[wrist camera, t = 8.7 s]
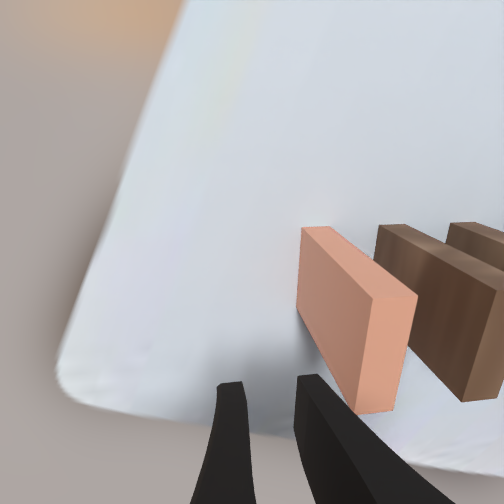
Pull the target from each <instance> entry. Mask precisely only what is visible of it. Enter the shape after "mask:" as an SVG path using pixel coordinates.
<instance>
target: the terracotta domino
mask: <svg viewBox="0 0 504 504" xmlns="http://www.w3.org/2000/svg"><path fill="white" fill-rule="evenodd" d="M417 299H418V295H417V294H415V293H414V292H413V291H412V290H410V289H409V288H408V287H406V286H405V285H404V284H403V283H401V282H400V281H399V280H398V279H396V278H395V277H394V276H392V275H391V274H390V273H389V272H387V271H386V270H385V269H383V268H382V267H381V266H380V265H378V264H377V263H376V262H375V261H373V260H372V259H371V258H369V257H368V256H367V255H366V254H364V253H363V252H362V251H361V250H359V249H358V248H357V247H355V246H354V245H353V244H352V243H350V242H349V241H348V240H346V239H345V238H344V237H343V236H341V235H340V234H339V233H338V232H336V231H335V230H334V229H332V228H331V227H330V226H326V227H302V231H301V245H300V259H299V274H298V288H297V302H296V308H297V310H298V311H299V313H300V315H301V317H302V319H303V321H304V323H305V325H306V326H307V328H308V330H309V332H310V334H311V336H312V338H313V340H314V342H315V343H316V345H317V347H318V349H319V351H320V353H321V355H322V357H323V358H324V360H325V362H326V364H327V366H328V368H329V370H330V372H331V374H332V375H333V377H334V379H335V381H336V383H337V385H338V387H339V389H340V391H341V392H342V394H343V396H344V398H345V400H346V402H347V404H348V406H349V407H350V409H351V410H352V411H353V412H354V413H355V414H356V415H361V414H369V413H377V412H386V411H393V408H394V404H395V399H396V394H397V390H398V385H399V381H400V376H401V372H402V367H403V363H404V358H405V354H406V349H407V345H408V340H409V335H410V331H411V326H412V322H413V317H414V313H415V308H416V304H417Z"/></svg>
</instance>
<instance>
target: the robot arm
mask: <svg viewBox="0 0 504 504" xmlns="http://www.w3.org/2000/svg"><path fill="white" fill-rule="evenodd" d="M293 428H294V432H295V437H296V441H297V445H298V449H299V453H300V457H301V461H302V465H303V468H304V471H305V474H306V477H307V480H308V483H309V486H310V488H311V491H312V494H313V497H314V500H315V503H316V504H455V503H454V502H452V501H451V500H450V499H449V498H448V497H446V496H445V495H444V494H442V493H441V492H440V491H439V490H438V489H436V488H435V487H434V486H433V485H431V484H430V483H429V482H428V481H427V480H425V479H424V478H423V477H422V476H421V475H419V474H418V473H417V472H416V471H415V470H414V469H412V468H411V467H410V466H409V465H408V464H407V463H406V462H405V461H404V460H403V459H401V458H400V457H399V456H398V455H397V454H396V453H395V452H394V451H393V450H392V449H390V448H389V447H388V446H387V445H386V444H385V443H384V442H383V441H382V440H381V439H380V438H379V437H378V436H377V435H376V434H375V433H374V432H373V431H372V430H371V429H370V428H369V427H368V426H367V425H366V424H365V423H364V422H363V421H362V420H361V419H360V418H359V417H358V416H357V415H356V414H355V413H354V412H353V411H352V410H351V409H350V408H349V407H348V406H347V405H346V404H345V403H344V402H343V400H342V399H341V398H340V397H339V396H338V395H337V394H336V393H335V392H334V391H333V390H332V389H331V388H330V386H329V385H328V384H327V383H326V382H325V381H324V380H323V379H322V378H321V377H320V376H319V375H318V374H311V375H301V376H298V378H297V390H296V402H295V415H294V427H293ZM190 504H256V499H255V494H254V485H253V477H252V465H251V451H250V437H249V424H248V411H247V400H246V396H245V392H244V388H243V384H242V381H241V382H230V383H221V384H220V385H218V386H217V400H216V409H215V415H214V421H213V426H212V430H211V434H210V438H209V442H208V446H207V451H206V454H205V458H204V461H203V465H202V468H201V471H200V474H199V477H198V481H197V484H196V487H195V491H194V493H193V496H192V499H191V502H190Z"/></svg>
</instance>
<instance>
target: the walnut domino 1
mask: <svg viewBox="0 0 504 504" xmlns="http://www.w3.org/2000/svg"><path fill="white" fill-rule="evenodd" d="M373 261H375V262H376V263H377V264H378V265H380V266H381V267H382V268H383V269H385V270H386V271H387V272H389V273H390V274H391V275H392V276H394V277H395V278H396V279H398V280H399V281H400V282H401V283H403V284H404V285H405V286H406V287H408V288H409V289H410V290H412V291H413V292H414V293H415V294H417V295H418V299H417V304H416V308H415V313H414V317H413V322H412V326H411V331H410V335H409V340H408V346H409V347H410V349H411V350H412V351H413V352H414V353H415V354H416V355H417V356H418V357H419V358H420V359H421V360H422V361H423V362H424V363H425V364H426V365H427V366H428V368H429V369H430V370H431V371H432V372H433V373H434V374H435V375H436V376H437V377H438V378H439V379H440V380H441V381H442V382H443V383H444V384H445V385H446V387H447V388H448V389H449V390H450V391H451V392H452V393H453V394H454V395H455V396H456V397H457V398H458V399H459V400H460V401H461V402H469V401H477V400H486V399H494V398H497V397H498V394H499V391H500V388H501V386H502V383H503V380H504V272H503V271H501V270H499V269H497V268H495V267H493V266H491V265H489V264H487V263H485V262H482V261H480V260H478V259H476V258H474V257H472V256H470V255H468V254H466V253H464V252H462V251H460V250H458V249H455V248H453V247H451V246H449V245H447V244H445V243H443V242H441V241H439V240H437V239H435V238H433V237H431V236H428V235H426V234H424V233H422V232H420V231H418V230H416V229H414V228H412V227H410V226H408V225H406V224H394V225H379V228H378V235H377V241H376V247H375V253H374V260H373Z"/></svg>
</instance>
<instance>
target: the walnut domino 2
mask: <svg viewBox="0 0 504 504" xmlns="http://www.w3.org/2000/svg"><path fill="white" fill-rule="evenodd" d="M445 244H447V245H449V246H451V247H453V248H455V249H458V250H460V251H462V252H464V253H466V254H468V255H470V256H472V257H474V258H476V259H478V260H480V261H482V262H485V263H487V264H489V265H491V266H493V267H495V268H497V269H499V270H501V271H503V272H504V232H501V231H499V230H496V229H493V228H490V227H487V226H484V225H482V224H479V223H476V222H460V223H450V227H449V231H448V235H447V239H446V243H445Z"/></svg>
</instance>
